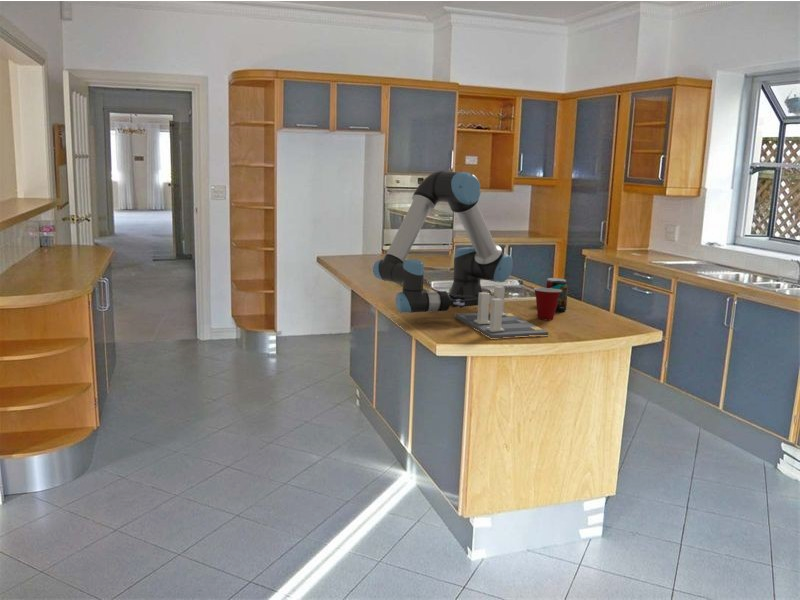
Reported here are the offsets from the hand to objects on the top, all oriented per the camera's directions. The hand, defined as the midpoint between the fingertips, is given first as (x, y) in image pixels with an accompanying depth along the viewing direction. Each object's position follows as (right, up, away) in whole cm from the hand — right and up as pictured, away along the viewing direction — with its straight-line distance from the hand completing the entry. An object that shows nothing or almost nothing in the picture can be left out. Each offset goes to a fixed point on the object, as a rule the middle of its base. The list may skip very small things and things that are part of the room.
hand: (494, 299), depth 270 cm
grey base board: (+1, -10, -9) cm, 14 cm away
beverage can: (+29, -5, +21) cm, 36 cm away
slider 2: (+2, -6, +2) cm, 6 cm away
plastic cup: (+21, -8, +6) cm, 23 cm away
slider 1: (-6, -9, -12) cm, 16 cm away
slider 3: (-3, -11, -22) cm, 25 cm away
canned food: (+30, -2, +33) cm, 45 cm away
